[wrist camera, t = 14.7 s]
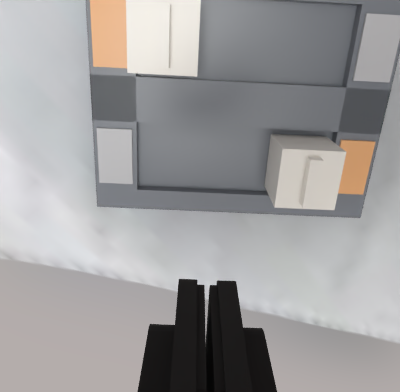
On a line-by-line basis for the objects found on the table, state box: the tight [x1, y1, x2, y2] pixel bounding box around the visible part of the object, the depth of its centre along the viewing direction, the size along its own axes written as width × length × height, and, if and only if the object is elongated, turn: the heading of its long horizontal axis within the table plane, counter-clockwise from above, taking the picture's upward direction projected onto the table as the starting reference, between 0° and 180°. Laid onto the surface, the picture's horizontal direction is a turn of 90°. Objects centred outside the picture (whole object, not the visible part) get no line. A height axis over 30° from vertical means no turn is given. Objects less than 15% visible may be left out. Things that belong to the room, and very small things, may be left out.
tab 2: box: [264, 134, 346, 210], centre depth 26 cm, size 4×4×5 cm
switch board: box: [86, 0, 400, 218], centre depth 27 cm, size 20×16×2 cm
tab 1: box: [126, 0, 201, 77], centre depth 22 cm, size 4×4×5 cm
